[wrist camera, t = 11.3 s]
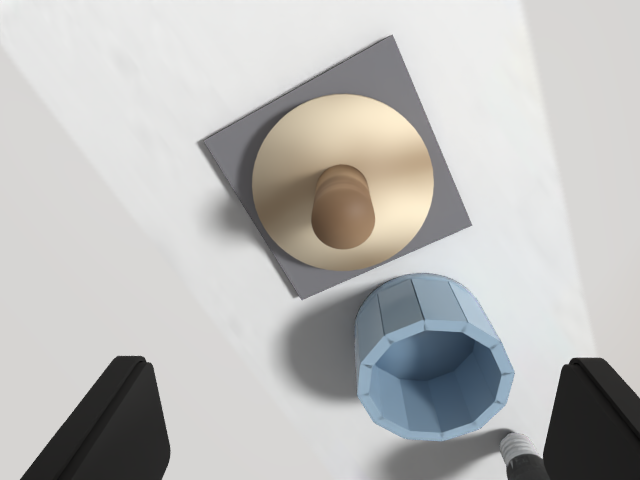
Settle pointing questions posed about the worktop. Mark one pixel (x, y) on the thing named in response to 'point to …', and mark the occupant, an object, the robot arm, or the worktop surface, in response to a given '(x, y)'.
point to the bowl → (429, 359)
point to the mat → (348, 77)
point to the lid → (342, 182)
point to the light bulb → (522, 458)
